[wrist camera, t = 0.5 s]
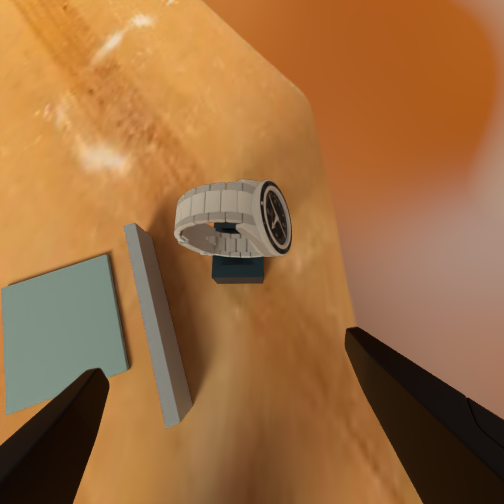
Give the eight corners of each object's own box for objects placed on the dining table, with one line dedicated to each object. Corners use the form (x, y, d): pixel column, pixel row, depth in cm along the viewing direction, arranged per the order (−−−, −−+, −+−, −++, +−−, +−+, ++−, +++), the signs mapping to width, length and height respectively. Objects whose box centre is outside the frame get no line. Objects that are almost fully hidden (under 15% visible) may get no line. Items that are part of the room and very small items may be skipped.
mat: (129, 369, 20) (127, 370, 20) (11, 413, 20) (6, 415, 19) (108, 255, 23) (106, 254, 23) (5, 288, 23) (1, 288, 22)
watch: (282, 283, 22) (307, 247, 12) (199, 283, 23) (150, 249, 12) (280, 228, 24) (300, 155, 14) (202, 229, 24) (161, 157, 14)
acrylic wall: (192, 405, 20) (180, 422, 16) (181, 410, 19) (166, 428, 16) (151, 236, 24) (134, 222, 21) (142, 239, 24) (123, 226, 21)
